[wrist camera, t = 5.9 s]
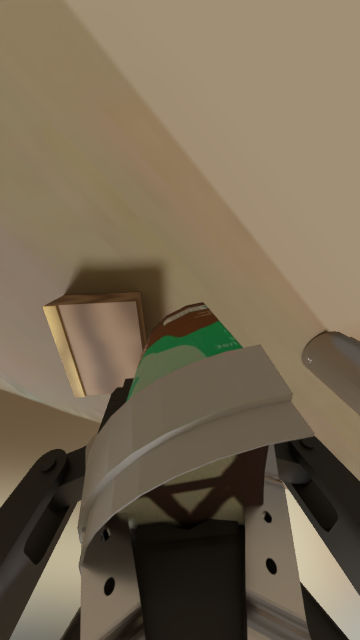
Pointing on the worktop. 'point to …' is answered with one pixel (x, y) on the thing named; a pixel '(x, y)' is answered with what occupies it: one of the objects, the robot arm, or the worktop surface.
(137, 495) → the food container
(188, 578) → the robot arm
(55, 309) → the dock
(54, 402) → the worktop surface
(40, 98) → the worktop surface
